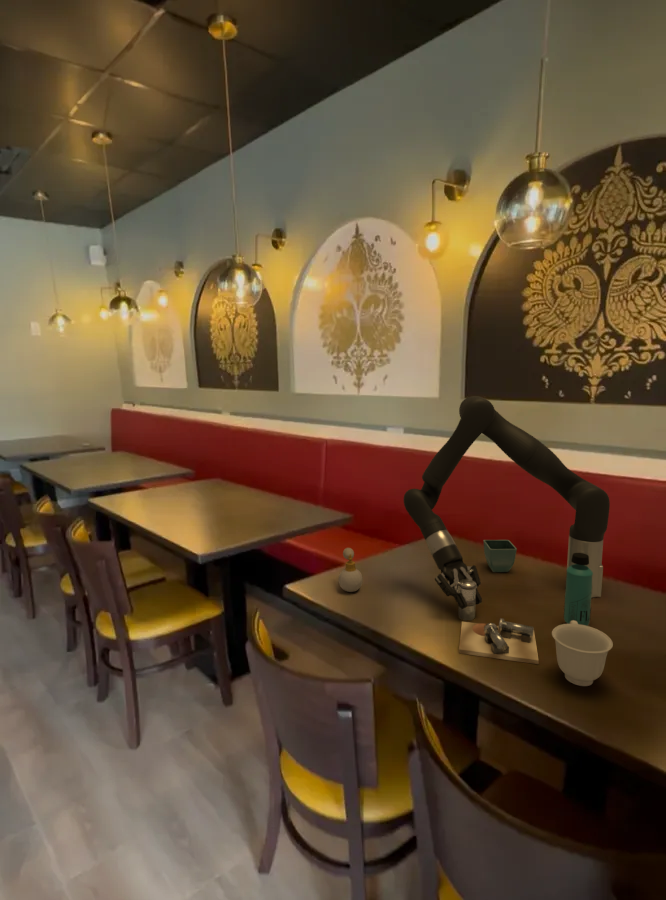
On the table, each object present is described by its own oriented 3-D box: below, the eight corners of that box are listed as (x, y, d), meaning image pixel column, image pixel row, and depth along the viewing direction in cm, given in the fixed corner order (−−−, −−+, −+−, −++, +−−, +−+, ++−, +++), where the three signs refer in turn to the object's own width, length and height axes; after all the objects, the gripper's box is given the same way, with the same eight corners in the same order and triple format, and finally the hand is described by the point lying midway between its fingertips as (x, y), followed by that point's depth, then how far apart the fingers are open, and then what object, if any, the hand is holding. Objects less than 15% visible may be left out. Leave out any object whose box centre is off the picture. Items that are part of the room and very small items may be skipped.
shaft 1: (483, 637, 131) (483, 623, 131) (497, 636, 131) (497, 622, 131) (494, 655, 123) (495, 640, 123) (509, 654, 124) (510, 639, 123)
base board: (533, 633, 135) (533, 629, 134) (538, 664, 121) (538, 659, 121) (461, 624, 140) (462, 620, 139) (458, 653, 126) (459, 648, 126)
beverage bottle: (578, 635, 133) (583, 561, 130) (556, 623, 139) (561, 552, 136) (595, 628, 136) (601, 556, 133) (573, 618, 142) (578, 548, 139)
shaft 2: (498, 636, 132) (498, 621, 131) (500, 629, 135) (501, 615, 134) (531, 643, 128) (532, 628, 127) (533, 636, 131) (534, 622, 131)
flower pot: (516, 574, 171) (517, 548, 169) (489, 575, 171) (490, 549, 170) (507, 564, 180) (508, 539, 178) (482, 564, 180) (482, 539, 178)
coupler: (475, 613, 145) (476, 580, 144) (475, 621, 141) (476, 587, 139) (458, 611, 147) (459, 578, 145) (457, 619, 142) (458, 585, 141)
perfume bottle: (346, 597, 157) (345, 559, 155) (330, 585, 165) (330, 549, 163) (367, 591, 160) (367, 554, 158) (351, 580, 169) (350, 545, 167)
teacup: (597, 659, 123) (600, 619, 121) (616, 699, 109) (620, 655, 107) (543, 653, 126) (545, 614, 124) (554, 691, 111) (557, 648, 110)
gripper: (430, 548, 144) (458, 606, 135) (469, 539, 151) (499, 594, 142) (417, 560, 149) (444, 617, 141) (456, 550, 156) (484, 604, 148)
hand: (471, 605), depth 142 cm, fingers closed on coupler, 4 cm apart
